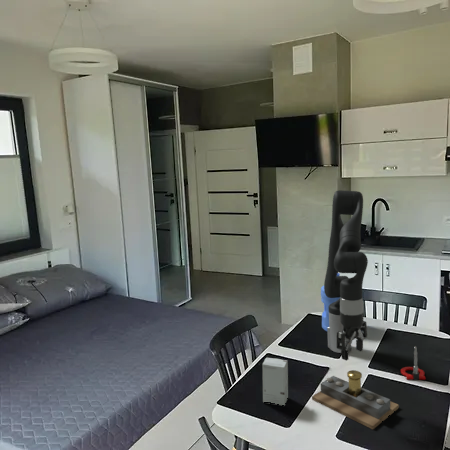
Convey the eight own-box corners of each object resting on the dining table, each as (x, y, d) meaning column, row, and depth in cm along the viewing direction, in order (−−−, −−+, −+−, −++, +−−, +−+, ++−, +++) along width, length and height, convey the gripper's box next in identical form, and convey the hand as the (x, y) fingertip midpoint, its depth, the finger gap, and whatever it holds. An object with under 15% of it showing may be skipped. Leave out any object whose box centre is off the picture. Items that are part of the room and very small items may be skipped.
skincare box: (263, 403, 150) (260, 364, 148) (267, 394, 156) (265, 356, 154) (286, 406, 147) (284, 367, 145) (289, 397, 153) (287, 359, 151)
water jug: (359, 326, 210) (358, 272, 206) (345, 337, 199) (343, 280, 194) (331, 319, 221) (330, 268, 216) (316, 329, 209) (314, 275, 205)
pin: (345, 400, 147) (344, 374, 145) (353, 394, 150) (352, 368, 148) (357, 405, 143) (356, 378, 141) (365, 399, 146) (364, 373, 144)
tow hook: (398, 369, 168) (404, 380, 159) (398, 338, 166) (404, 347, 157) (420, 369, 166) (428, 380, 157) (420, 338, 165) (428, 347, 156)
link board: (312, 399, 150) (311, 385, 150) (338, 382, 160) (338, 369, 160) (372, 429, 132) (372, 414, 131) (398, 407, 142) (398, 393, 141)
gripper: (354, 301, 148) (354, 344, 151) (329, 313, 139) (330, 358, 142) (373, 306, 142) (373, 351, 145) (348, 319, 133) (349, 366, 136)
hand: (352, 354), depth 143 cm, fingers open, 8 cm apart
